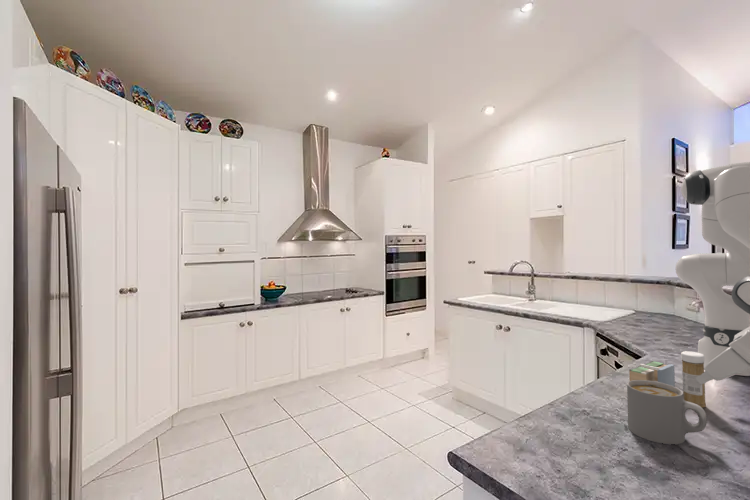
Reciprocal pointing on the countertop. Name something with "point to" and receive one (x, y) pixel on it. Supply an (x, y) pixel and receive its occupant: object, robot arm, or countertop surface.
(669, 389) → the coffee mug
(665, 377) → the gauge plunger
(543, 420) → the countertop surface
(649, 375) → the tan and green block
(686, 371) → the sprinkles bottle
